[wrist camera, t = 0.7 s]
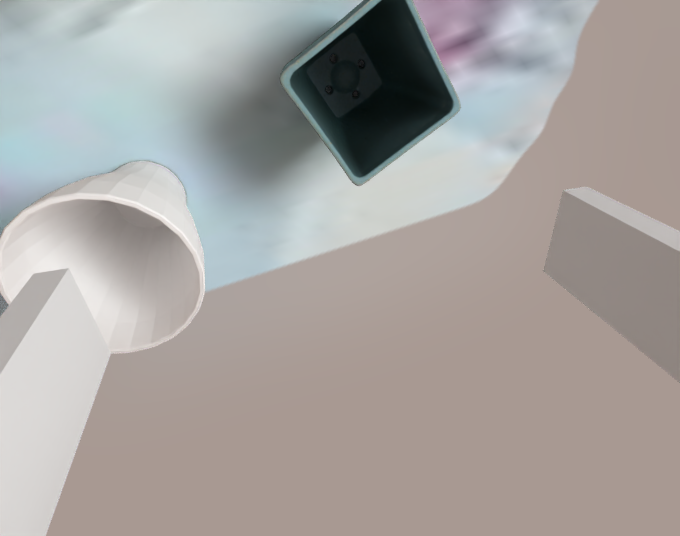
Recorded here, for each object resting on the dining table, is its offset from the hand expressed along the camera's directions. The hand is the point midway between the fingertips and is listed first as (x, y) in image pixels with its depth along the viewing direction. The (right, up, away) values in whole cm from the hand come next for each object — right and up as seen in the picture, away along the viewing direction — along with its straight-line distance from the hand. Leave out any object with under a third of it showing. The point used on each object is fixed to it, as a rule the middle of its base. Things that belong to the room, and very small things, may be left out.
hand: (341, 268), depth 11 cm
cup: (-16, +6, +23) cm, 29 cm away
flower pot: (0, +15, +22) cm, 27 cm away
